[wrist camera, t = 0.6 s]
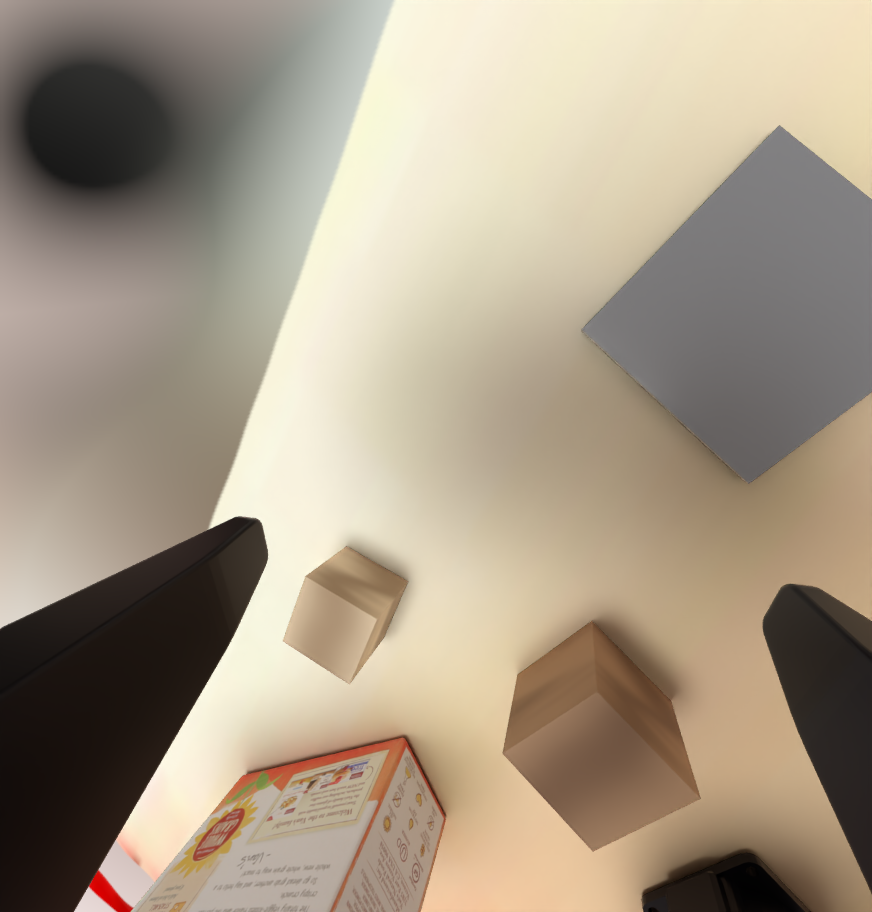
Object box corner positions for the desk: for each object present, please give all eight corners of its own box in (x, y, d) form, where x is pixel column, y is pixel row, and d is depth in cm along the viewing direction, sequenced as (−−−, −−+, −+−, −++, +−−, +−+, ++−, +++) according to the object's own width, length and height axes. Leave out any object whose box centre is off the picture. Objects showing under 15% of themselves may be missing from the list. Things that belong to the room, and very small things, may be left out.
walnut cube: (670, 699, 20) (700, 798, 15) (588, 748, 22) (593, 851, 17) (591, 619, 20) (597, 691, 16) (517, 673, 22) (502, 753, 17)
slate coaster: (979, 302, 14) (995, 299, 14) (743, 480, 17) (748, 483, 17) (771, 134, 15) (779, 125, 15) (581, 331, 18) (581, 329, 18)
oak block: (408, 580, 23) (377, 619, 19) (383, 637, 24) (349, 684, 20) (347, 545, 24) (305, 576, 20) (326, 602, 25) (282, 641, 21)
